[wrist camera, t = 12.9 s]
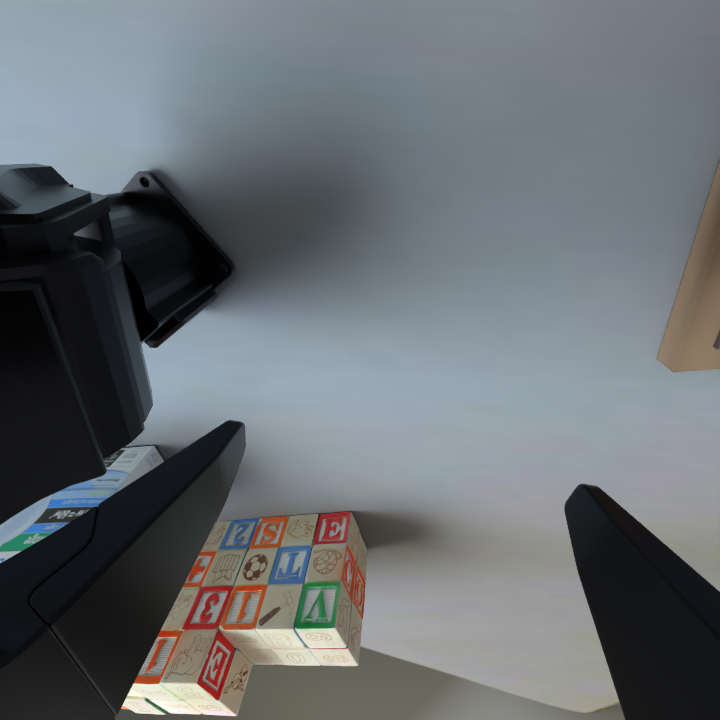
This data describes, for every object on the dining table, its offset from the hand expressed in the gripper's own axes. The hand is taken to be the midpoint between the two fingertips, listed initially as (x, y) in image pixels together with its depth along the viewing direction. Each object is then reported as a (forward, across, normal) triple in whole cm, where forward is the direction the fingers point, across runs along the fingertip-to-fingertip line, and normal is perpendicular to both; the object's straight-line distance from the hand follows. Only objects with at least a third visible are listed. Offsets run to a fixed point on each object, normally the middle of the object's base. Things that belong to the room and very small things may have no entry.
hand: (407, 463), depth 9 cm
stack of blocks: (+13, +9, +28) cm, 32 cm away
